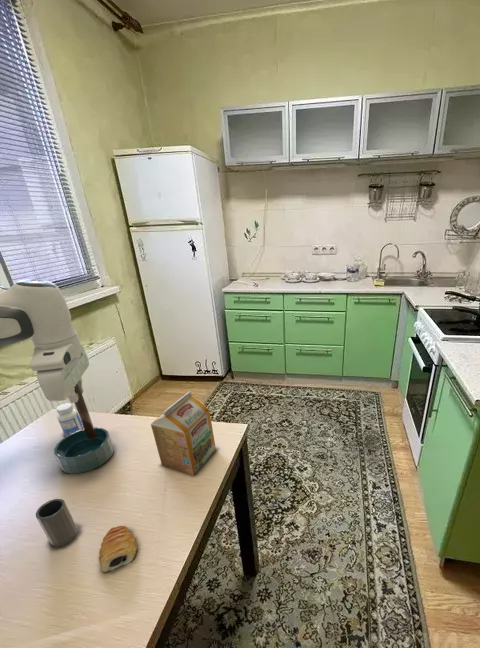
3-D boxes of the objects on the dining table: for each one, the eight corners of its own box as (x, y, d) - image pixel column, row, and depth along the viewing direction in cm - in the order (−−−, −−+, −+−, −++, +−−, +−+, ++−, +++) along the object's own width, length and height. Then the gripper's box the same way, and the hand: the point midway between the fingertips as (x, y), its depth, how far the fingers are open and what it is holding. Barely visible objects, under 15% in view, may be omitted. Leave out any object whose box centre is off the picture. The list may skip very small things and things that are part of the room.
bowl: (54, 480, 85) (45, 463, 82) (70, 447, 97) (64, 431, 94) (108, 470, 88) (102, 453, 85) (118, 439, 99) (113, 423, 97)
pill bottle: (73, 426, 106) (62, 401, 102) (87, 427, 105) (78, 402, 101) (60, 436, 101) (49, 411, 97) (75, 438, 101) (65, 412, 96)
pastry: (100, 539, 69) (95, 527, 68) (133, 525, 72) (129, 513, 71) (102, 577, 62) (97, 565, 60) (140, 560, 65) (135, 548, 63)
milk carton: (193, 475, 85) (181, 416, 77) (162, 465, 89) (146, 408, 80) (216, 450, 94) (206, 394, 85) (186, 442, 97) (174, 387, 89)
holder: (47, 551, 67) (31, 522, 63) (56, 530, 72) (41, 501, 68) (74, 545, 68) (59, 515, 64) (81, 524, 73) (68, 496, 69)
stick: (87, 442, 89) (65, 384, 81) (89, 437, 91) (68, 380, 82) (96, 440, 89) (75, 383, 81) (98, 435, 91) (78, 379, 83)
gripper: (60, 335, 86) (76, 380, 92) (25, 368, 68) (48, 421, 74) (86, 332, 87) (100, 377, 93) (59, 364, 70) (79, 417, 76)
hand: (77, 397), depth 84 cm, fingers closed on stick, 2 cm apart
